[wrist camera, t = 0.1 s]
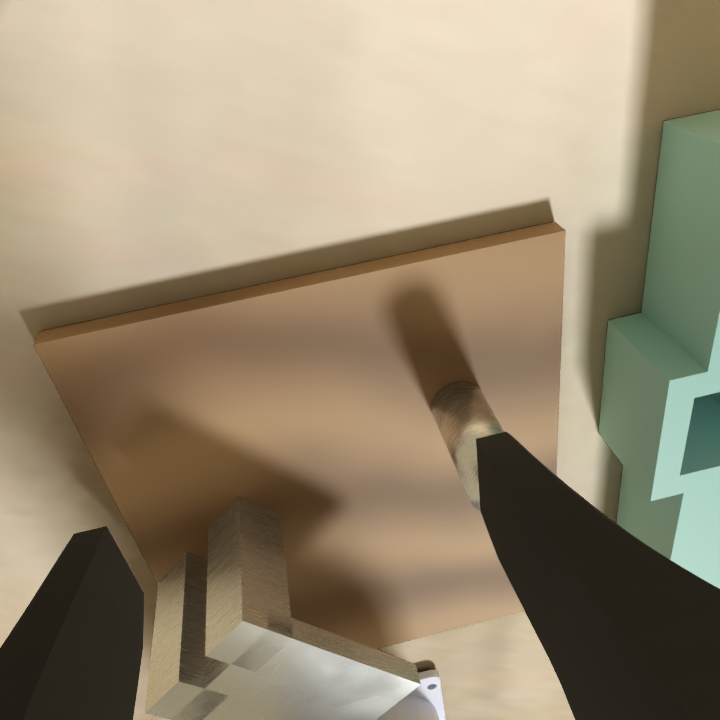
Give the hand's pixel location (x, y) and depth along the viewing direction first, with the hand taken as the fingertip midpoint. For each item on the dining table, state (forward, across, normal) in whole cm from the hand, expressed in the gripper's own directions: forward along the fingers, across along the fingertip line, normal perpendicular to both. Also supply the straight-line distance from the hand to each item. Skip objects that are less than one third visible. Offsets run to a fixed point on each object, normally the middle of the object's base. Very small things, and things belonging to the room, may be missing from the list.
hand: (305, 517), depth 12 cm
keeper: (+9, +3, +13) cm, 16 cm away
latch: (+10, -15, +8) cm, 20 cm away
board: (+10, -1, +10) cm, 14 cm away
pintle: (+10, -6, +6) cm, 13 cm away
